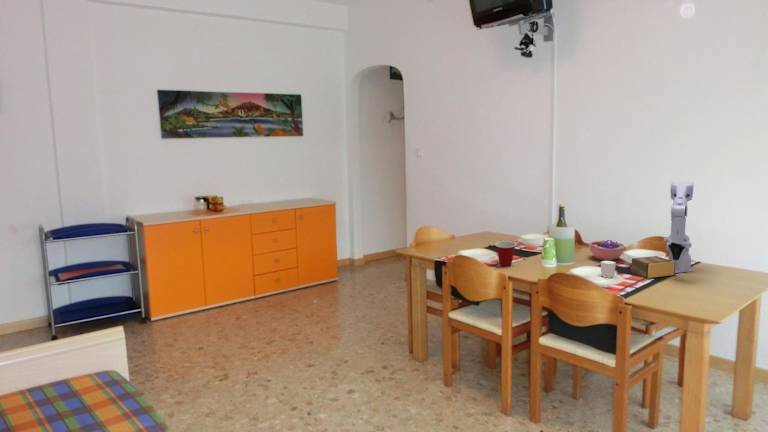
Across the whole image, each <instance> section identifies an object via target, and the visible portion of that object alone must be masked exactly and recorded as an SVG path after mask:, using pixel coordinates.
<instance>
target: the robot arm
mask: <svg viewBox="0 0 768 432" xmlns="http://www.w3.org/2000/svg"><path fill="white" fill-rule="evenodd" d="M694 184H695V183H694V181H693V182H692V181H671V183H670V191H669V192H670V199H671V200H672V206H671V207H670V218H671V219H670V220H671V221H670V222H671V223H670V234H669V235H668V236H667V237H663V242H665V243H666V245H665V247H666V251H667V252H668V260H671V261H676V263H675V274H677V273H678V274H680V273H689V272H692V270H691V267H692V257H691V255H690V249H691V248H692V243H691V241H690V237H689V236H688V235H687V234H686V221H687V218H688V210H689V209H688V202H689V201H692V200H693V197H694V196H693V195H694V186H695V185H694Z"/></svg>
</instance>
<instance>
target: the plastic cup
mask: <svg viewBox="0 0 768 432" xmlns="http://www.w3.org/2000/svg"><path fill="white" fill-rule="evenodd" d="M516 246H517V243H516V242H513V241H508V240H507V241H506V240H505V241H498V242H496V243H495V247H496V250H497V257H498V261H499V262H498V263H499V265H500V267H503V268H505V267H507V268H508V267H511V266H512V264H513V258H514V252H515V250H516V249H515V248H516Z"/></svg>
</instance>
